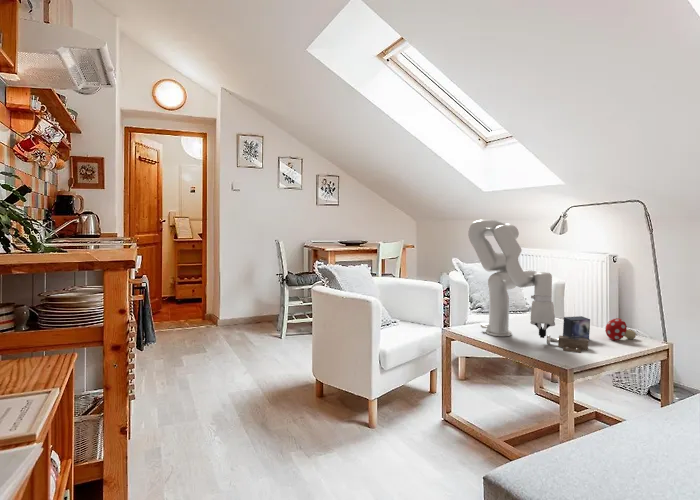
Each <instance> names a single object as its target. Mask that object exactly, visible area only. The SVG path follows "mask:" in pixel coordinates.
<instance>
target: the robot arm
mask: <svg viewBox="0 0 700 500" xmlns="http://www.w3.org/2000/svg"><path fill="white" fill-rule="evenodd" d="M519 234H520V232H519V230H518V228H517V226H516V225H514V224H511V223H507V222H503V221H499V220H496V219H478V220H475V221H473V222H472V223H471V224H470V225H469V227H468V239H469V242H470V244H471V245H472V247H473V249H474V251H475V253H476V255H477V258H478V259H479V262H480V264H481V266H482V269H484V270H485V271H486V272H494V273H492V274H491V275H490V276H489V277H488V279H487V286H488V287H487V288H488V292H489V308H488V309H489V310H488V311H489V313H488V323H480V328H482V329H485V334H487V335H489V336H494V337H509V336H510V337H511V336H512V331H511V330H509V328H510V327H509V324H510V323H509V320H510V316H509V315H510V297H509V292H508V290H513V289H515V288H516V287H518V288H528V287H534V294H533V295H530V298H531V299H533V300H532V303H531V307H530V324H531V325H534V326H536V328H537V329H538V336H540V337H539V338H540V339H541V338H542V339H545V337H547V329H548V328H550V327H555V326H556V323H555V318H556V317H555V316H556V315H555V304H554V301H552V299H553V297H552V295H553V291H552V290H553V289H552V288H553V275H552V274H551V273H550V272H547V271H546V272H545V271H544V272H543V271H540V272H539V271H535V270H523V268H522V266H521V264H520V262H519V257H520V255H521V253H522V250H523V249H522V247H521V246H520V244H519V242H518V241H517V239H518V237H519ZM489 236H490V237H491V236H492V237H493V238H494V239H495V241H496V244H498V246H499V247H498V248H500V250H501V252H496V251H495V250H494V248H493V246H492V244H491V243H490V241H489V240H488V239H487V238H486V237H489ZM542 324H543V326H542Z"/></svg>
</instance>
